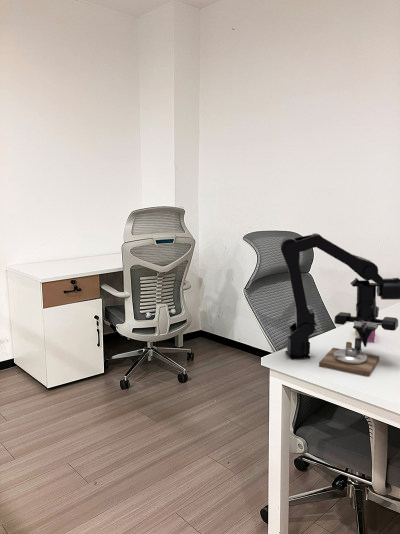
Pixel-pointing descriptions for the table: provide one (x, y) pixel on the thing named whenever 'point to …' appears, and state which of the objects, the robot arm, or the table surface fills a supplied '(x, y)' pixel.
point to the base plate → (358, 369)
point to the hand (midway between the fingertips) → (365, 346)
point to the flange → (351, 354)
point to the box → (372, 336)
